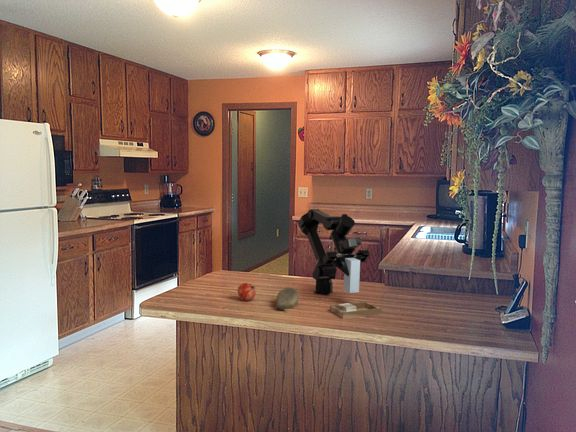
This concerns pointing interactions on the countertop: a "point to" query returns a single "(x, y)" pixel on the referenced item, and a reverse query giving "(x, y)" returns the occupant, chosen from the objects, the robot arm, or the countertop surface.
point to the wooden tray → (357, 310)
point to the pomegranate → (246, 292)
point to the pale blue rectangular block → (352, 275)
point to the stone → (287, 299)
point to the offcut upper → (347, 307)
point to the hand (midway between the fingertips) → (353, 275)
